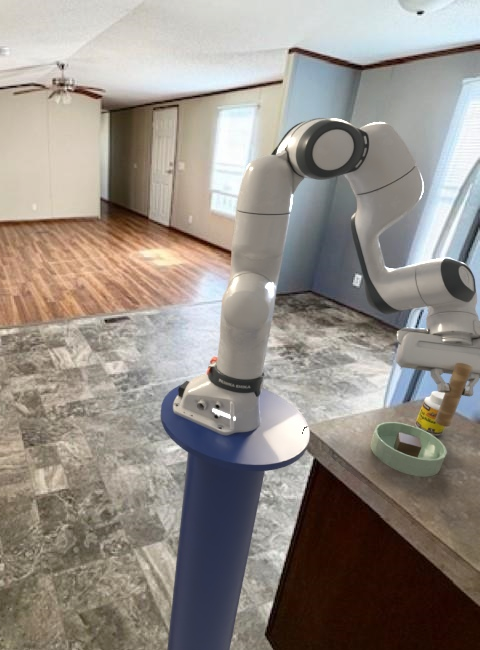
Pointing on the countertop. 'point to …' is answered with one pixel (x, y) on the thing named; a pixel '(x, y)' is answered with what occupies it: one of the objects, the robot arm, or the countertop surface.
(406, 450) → the block
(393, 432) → the bowl
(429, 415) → the supplement bottle
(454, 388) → the wooden cylinder
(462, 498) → the countertop surface
